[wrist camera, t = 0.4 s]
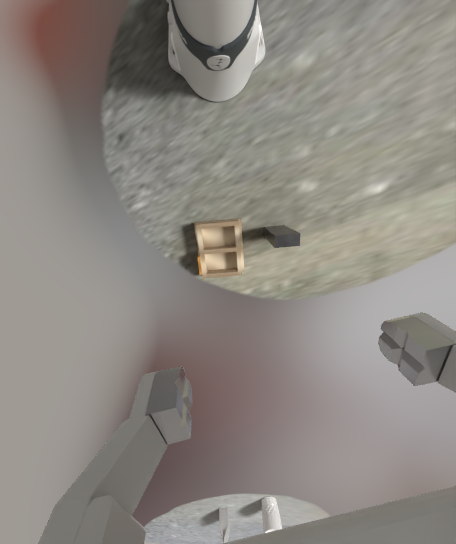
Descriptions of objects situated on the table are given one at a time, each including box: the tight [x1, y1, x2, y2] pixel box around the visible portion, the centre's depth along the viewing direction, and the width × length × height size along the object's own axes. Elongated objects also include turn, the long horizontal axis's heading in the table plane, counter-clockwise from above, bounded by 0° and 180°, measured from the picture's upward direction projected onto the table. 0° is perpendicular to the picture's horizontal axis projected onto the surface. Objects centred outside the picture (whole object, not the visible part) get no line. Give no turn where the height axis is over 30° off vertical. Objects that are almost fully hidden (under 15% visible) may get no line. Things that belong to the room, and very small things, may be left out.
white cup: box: [261, 497, 282, 533], centre depth 90 cm, size 8×8×10 cm
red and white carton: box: [219, 508, 229, 543], centre depth 93 cm, size 4×7×10 cm, turn 7°
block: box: [264, 225, 300, 248], centre depth 48 cm, size 2×5×12 cm, turn 95°
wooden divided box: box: [194, 219, 244, 278], centre depth 52 cm, size 14×12×5 cm
